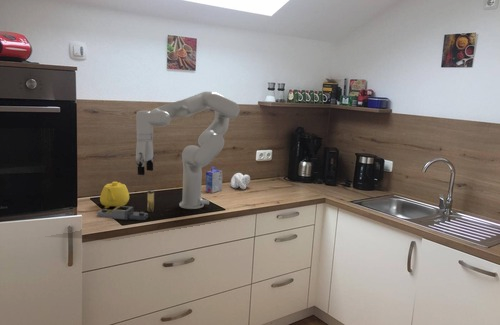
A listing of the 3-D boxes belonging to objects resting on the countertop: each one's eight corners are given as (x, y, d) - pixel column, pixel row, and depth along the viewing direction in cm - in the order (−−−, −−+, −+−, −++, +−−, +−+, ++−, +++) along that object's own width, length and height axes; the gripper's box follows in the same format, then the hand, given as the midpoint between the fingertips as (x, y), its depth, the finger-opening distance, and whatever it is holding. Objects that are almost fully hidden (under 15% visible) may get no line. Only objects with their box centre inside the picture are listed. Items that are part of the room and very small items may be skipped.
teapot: (94, 211, 198) (93, 186, 196) (107, 200, 218) (107, 177, 215) (122, 213, 198) (122, 187, 196) (133, 201, 218) (133, 178, 216)
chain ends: (148, 216, 196) (149, 208, 195) (143, 221, 189) (143, 212, 188) (103, 212, 198) (103, 204, 197) (96, 216, 191) (96, 208, 190)
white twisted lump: (244, 185, 267) (245, 171, 265) (253, 189, 257) (254, 175, 255) (228, 186, 261) (229, 172, 260) (237, 191, 251) (238, 176, 250)
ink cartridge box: (215, 188, 254) (215, 165, 252) (222, 190, 252) (223, 166, 249) (204, 191, 246) (205, 167, 244) (212, 193, 243) (213, 169, 241)
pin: (154, 210, 205) (154, 190, 204) (152, 212, 202) (152, 192, 201) (148, 209, 206) (148, 190, 204) (146, 211, 203) (146, 191, 201)
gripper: (145, 134, 205) (145, 168, 208) (129, 139, 188) (129, 176, 191) (159, 135, 203) (160, 169, 207) (144, 140, 187) (145, 177, 190)
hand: (145, 172), depth 199 cm, fingers open, 9 cm apart
